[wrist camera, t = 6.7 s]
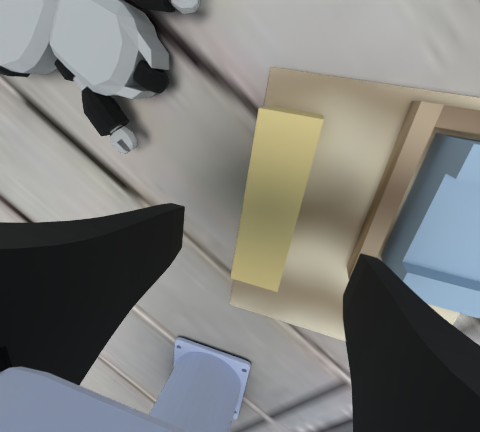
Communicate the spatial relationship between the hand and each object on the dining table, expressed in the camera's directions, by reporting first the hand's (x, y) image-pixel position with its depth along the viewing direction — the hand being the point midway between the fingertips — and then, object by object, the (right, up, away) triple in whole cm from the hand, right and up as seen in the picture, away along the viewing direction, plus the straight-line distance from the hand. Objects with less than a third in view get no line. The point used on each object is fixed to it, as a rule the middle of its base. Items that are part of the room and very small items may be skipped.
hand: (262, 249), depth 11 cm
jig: (+7, 0, +8) cm, 11 cm away
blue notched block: (+11, +2, +5) cm, 12 cm away
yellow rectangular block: (+2, +3, +7) cm, 8 cm away
